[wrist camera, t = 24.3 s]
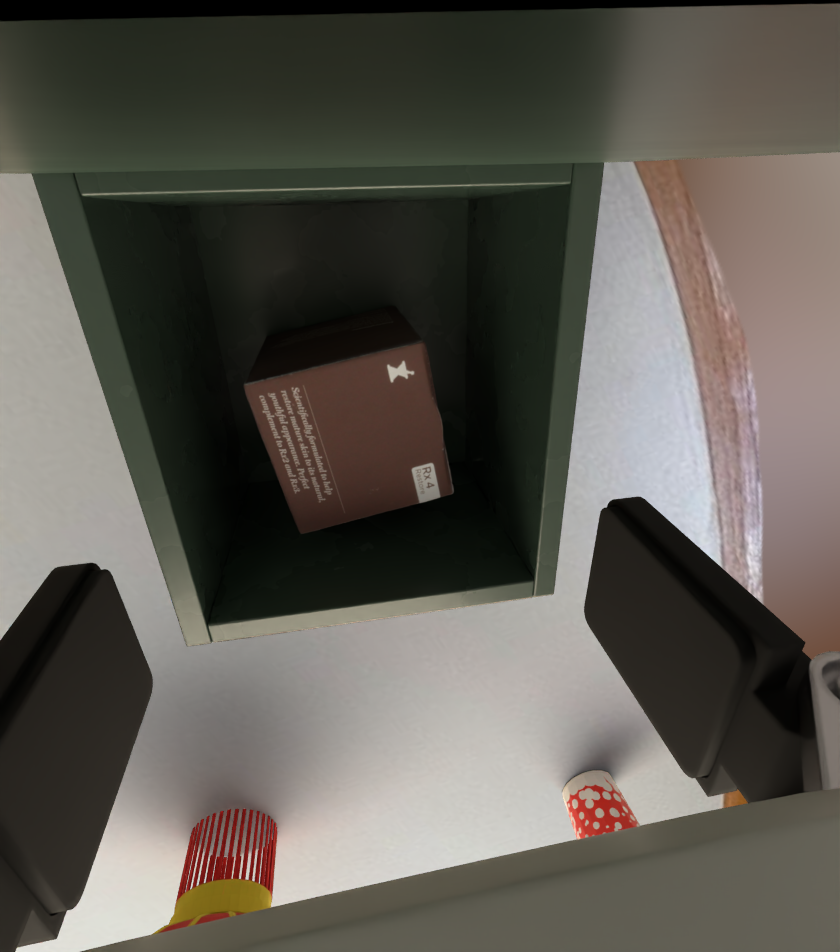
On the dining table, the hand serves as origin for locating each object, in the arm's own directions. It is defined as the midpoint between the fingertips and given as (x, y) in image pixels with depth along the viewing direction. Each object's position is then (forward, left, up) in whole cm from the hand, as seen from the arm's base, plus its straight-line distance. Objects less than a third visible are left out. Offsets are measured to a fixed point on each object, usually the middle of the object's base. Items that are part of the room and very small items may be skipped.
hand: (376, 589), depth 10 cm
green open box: (-1, 0, -16) cm, 16 cm away
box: (0, 0, -16) cm, 16 cm away
